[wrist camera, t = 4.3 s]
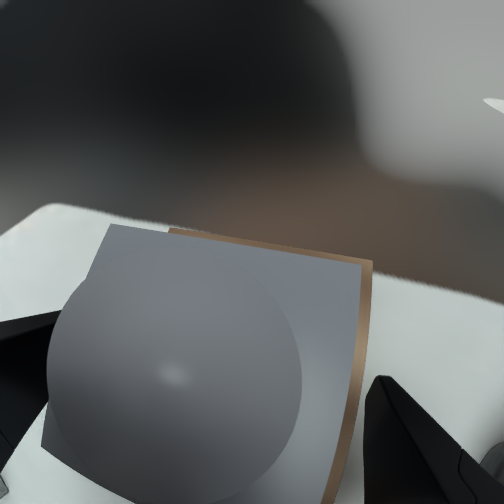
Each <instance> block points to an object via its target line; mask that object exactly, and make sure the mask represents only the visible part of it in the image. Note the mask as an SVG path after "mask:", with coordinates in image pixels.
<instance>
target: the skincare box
mask: <svg viewBox="0 0 504 504" xmlns="http://www.w3.org/2000/svg"><path fill="white" fill-rule="evenodd" d="M7 491H8V490H7V488H6V486H5V485H4V483H3V481H2V479H1V477H0V498H1V497H2V496H3V495H4V494H6V493H7Z"/></svg>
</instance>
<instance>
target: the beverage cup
mask: <svg viewBox="0 0 504 504" xmlns="http://www.w3.org/2000/svg"><path fill="white" fill-rule="evenodd" d="M480 466H481V467H483V468H484V469H485V470H486V471H487V472H488V473H490V474H491V475H492V476H493V477H494V478H496V479H497V480H498V481H499V482H500V483H502V484H503V485H504V442H503V443H499V444H497V445H496V446H494V447H493V448H492V449H491V450H490V451H489V452H488V453H487V454H486V456H485V457H484V459H483V460H482V461H481V463H480Z"/></svg>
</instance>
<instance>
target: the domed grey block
mask: <svg viewBox="0 0 504 504" xmlns="http://www.w3.org/2000/svg"><path fill="white" fill-rule="evenodd" d="M361 271H362V265H359V264H353V263H347V262H342V261H336V260H330V259H324V258H318V257H312V256H306V255H300V254H294V253H288V252H282V251H276V250H270V249H264V248H258V247H252V246H246V245H240V244H234V243H228V242H222V241H216V240H210V239H203V238H197V237H191V236H185V235H179V234H173V233H166V232H160V231H154V230H148V229H141V228H135V227H129V226H122V225H116V224H110V226H109V228H108V230H107V232H106V234H105V237H104V239H103V241H102V243H101V245H100V247H99V249H98V252H97V254H96V256H95V258H94V261H93V263H92V265H91V268H90V270H89V272H88V275H87V277H86V279H85V280H84V281H83V282H82V283H81V284H80V285H79V286H78V288H77V289H76V290H75V291H74V292H73V294H72V295H71V296H70V298H69V299H68V301H67V302H66V304H65V305H64V307H63V309H62V311H61V313H60V315H59V317H58V319H57V322H56V324H55V327H54V329H53V332H52V336H51V340H50V344H49V349H48V357H47V385H48V393H49V400H48V405H47V410H46V415H45V421H44V427H43V434H42V441H41V447H42V448H44V449H45V450H46V451H48V452H49V453H50V454H52V455H53V456H54V457H56V458H57V459H59V460H60V461H61V462H63V463H64V464H66V465H67V466H69V467H70V468H72V469H73V470H75V471H76V472H78V473H80V474H81V475H83V476H84V477H86V478H88V479H89V480H91V481H93V482H95V483H96V484H98V485H100V486H102V487H104V488H105V489H107V490H109V491H111V492H113V493H115V494H117V495H119V496H121V497H123V498H125V499H127V500H129V501H131V502H134V503H136V504H320V503H321V500H322V497H323V494H324V491H325V487H326V484H327V481H328V477H329V474H330V470H331V467H332V463H333V459H334V455H335V451H336V447H337V443H338V439H339V435H340V430H341V426H342V421H343V416H344V411H345V406H346V401H347V395H348V390H349V384H350V378H351V371H352V364H353V357H354V350H355V342H356V333H357V324H358V314H359V302H360V288H361Z"/></svg>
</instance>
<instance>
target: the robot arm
mask: <svg viewBox="0 0 504 504" xmlns="http://www.w3.org/2000/svg"><path fill="white" fill-rule="evenodd" d="M61 311H62V310H59V311H54V312H49V313H44V314H39V315H34V316H28V317H23V318H18V319H13V320H8V321H2V322H0V473H1V472H2V470H3V468H4V467H5V465H6V463H7V462H8V460H9V458H10V457H11V455H12V454H13V452H14V451H15V449H16V447H17V446H18V444H19V442H20V441H21V439H22V438H23V436H24V435H25V433H26V432H27V431H28V429H29V428H30V426H31V425H32V423H33V422H34V420H35V419H36V417H37V416H38V415H39V413H40V412H41V410H42V409H43V408H44V406H45V405H46V403H47V402H48V400H49V393H48V385H47V357H48V349H49V344H50V340H51V336H52V332H53V329H54V327H55V324H56V322H57V319H58V317H59V315H60V313H61ZM461 448H462V447H461V446H460V445H459V444H458V443H457V442H456V441H455V440H454V439H453V438H452V437H451V436H450V435H449V434H448V433H447V432H446V431H445V430H444V429H443V428H442V427H441V426H440V425H439V424H438V423H437V422H436V421H435V420H434V419H433V418H432V417H431V416H430V415H429V414H428V413H427V412H426V411H425V410H424V409H423V408H422V407H421V406H420V405H419V404H418V403H417V402H416V401H415V400H414V399H413V398H412V397H411V396H410V395H409V394H408V393H407V392H406V391H405V390H404V389H403V388H402V387H401V386H400V385H399V384H398V383H397V382H396V381H395V380H394V379H393V378H392V377H391V376H385V375H378V376H376V377H375V379H374V381H373V383H372V385H371V387H370V389H369V391H368V393H367V395H366V399H365V415H364V435H363V460H364V504H504V485H503V484H502V483H500V482H499V481H498V480H497V479H496V478H494V477H493V476H492V475H491V474H490V473H488V472H487V471H486V470H485V469H484V468H483V467H481V466H480V465H479V464H478V463H477V462H476V461H475V460H474V459H473V458H472V457H471V456H470V455H469V454H468V453H467V452H466V451H465V450H464V449H461Z"/></svg>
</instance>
